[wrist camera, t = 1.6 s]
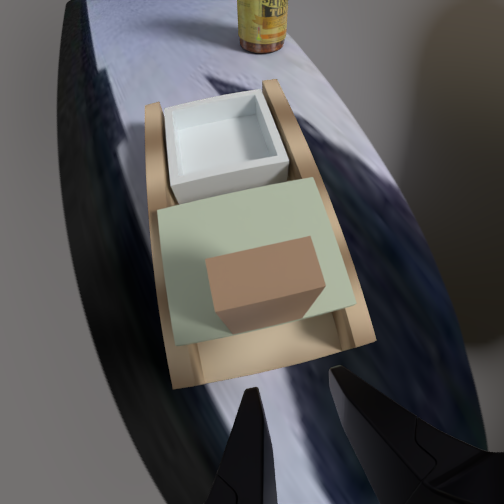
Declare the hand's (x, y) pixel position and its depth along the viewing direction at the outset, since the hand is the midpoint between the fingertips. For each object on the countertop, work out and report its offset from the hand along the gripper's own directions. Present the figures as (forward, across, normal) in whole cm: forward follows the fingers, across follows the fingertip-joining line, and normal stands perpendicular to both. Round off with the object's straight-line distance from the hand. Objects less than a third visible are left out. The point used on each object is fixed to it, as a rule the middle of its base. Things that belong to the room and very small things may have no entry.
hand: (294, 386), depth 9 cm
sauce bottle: (+36, -8, -18) cm, 42 cm away
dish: (+22, 0, -5) cm, 22 cm away
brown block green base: (+11, 0, 0) cm, 11 cm away
